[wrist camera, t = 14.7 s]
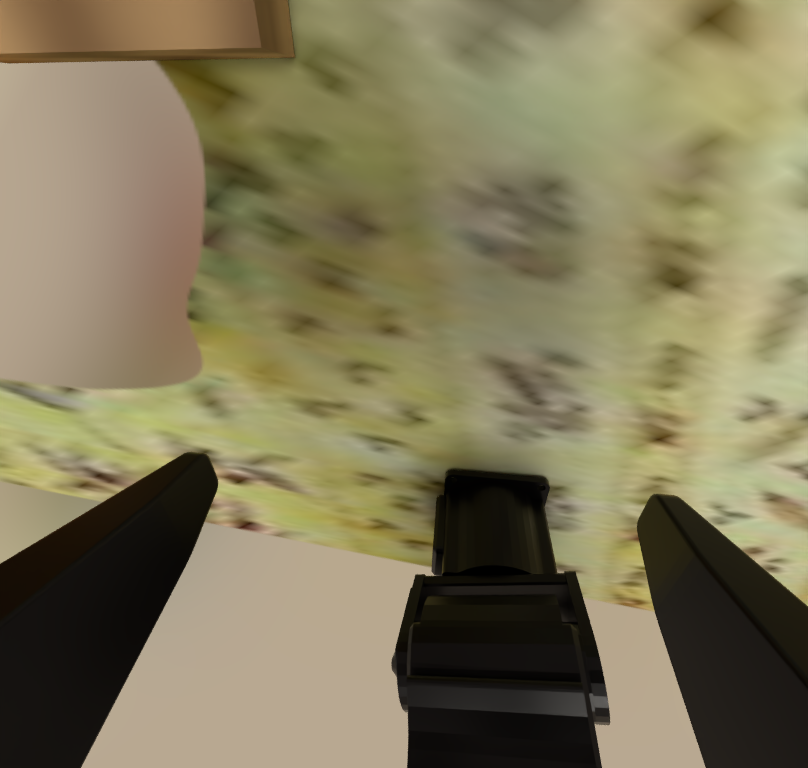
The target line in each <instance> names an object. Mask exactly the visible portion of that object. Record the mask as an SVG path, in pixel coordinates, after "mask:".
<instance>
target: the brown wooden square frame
mask: <svg viewBox="0 0 808 768" xmlns="http://www.w3.org/2000/svg"><path fill="white" fill-rule="evenodd" d="M291 57H295V55H294V47H293V38H292V30H291V22H290V14H289V6H288V0H0V62H2V63H45V62H46V63H47V62H91V61H92V62H95V61H141V60H142V61H145V60H194V59H242V58H291Z"/></svg>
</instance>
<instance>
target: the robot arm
mask: <svg viewBox="0 0 808 768" xmlns="http://www.w3.org/2000/svg"><path fill="white" fill-rule="evenodd" d="M451 477H454V478H451ZM540 485H543V486H540ZM217 488H218V479H217V476H216V473H215V471H214V468H213V465H212V463H211V460H210V458H209V456H208V455H207V454H205V453H196V452H187V453H184V454H182V455H181V456H179V457H177V458H176V459H174V460H172V461H171V462H169V463H167V464H166V465H164V466H162V467H161V468H159V469H157V470H156V471H154V472H152V473H151V474H149V475H147V476H146V477H144V478H142V479H141V480H139V481H137V482H136V483H134V484H132V485H131V486H129V487H127V488H126V489H124V490H122V491H121V492H119V493H117V494H116V495H114V496H112V497H111V498H109V499H107V500H106V501H104V502H102V503H101V504H99V505H97V506H96V507H94V508H92V509H91V510H89V511H88V512H86V513H84V514H82V515H81V516H79V517H78V518H76V519H74V520H72V521H71V522H69V523H67V524H66V525H64V526H62V527H61V528H59V529H57V530H56V531H54V532H52V533H51V534H49V535H47V536H46V537H44V538H43V539H41V540H39V541H38V542H36V543H34V544H32V545H31V546H29V547H27V548H26V549H24V550H22V551H21V552H19V553H17V554H16V555H14V556H13V557H11V558H9V559H7V560H6V561H4V562H2V563H1V564H0V768H81V767H82V764H83V763H84V761H85V759H86V757H87V755H88V753H89V751H90V749H91V747H92V745H93V744H94V742H95V740H96V737H97V736H98V734H99V732H100V730H101V728H102V726H103V724H104V722H105V720H106V719H107V717H108V715H109V712H110V711H111V709H112V707H113V705H114V703H115V701H116V699H117V697H118V695H119V693H120V692H121V689H122V688H123V686H124V684H125V682H126V680H127V678H128V676H129V674H130V672H131V670H132V668H133V666H134V665H135V662H136V661H137V659H138V657H139V655H140V653H141V651H142V649H143V647H144V645H145V643H146V641H147V639H148V637H149V636H150V634H151V632H152V630H153V628H154V626H155V624H156V622H157V620H158V618H159V616H160V614H161V613H162V611H163V609H164V606H165V605H166V603H167V601H168V599H169V597H170V595H171V593H172V591H173V589H174V587H175V586H176V584H177V582H178V580H179V578H180V576H181V574H182V572H183V570H184V568H185V566H186V564H187V562H188V560H189V558H190V556H191V554H192V551H193V549H194V547H195V544H196V542H197V539H198V537H199V534H200V532H201V529H202V527H203V524H204V522H205V519H206V517H207V514H208V512H209V509H210V507H211V504H212V502H213V499H214V497H215V494H216V492H217ZM549 489H550V486H549V482H548V480H547V479H545V478H538V477H527V476H516V475H505V474H494V473H482V472H471V471H460V470H450V471H448V472H447V473H446V476H445V489H444V495H439V496H438V497H437V501H436V515H435V528H434V541H433V556H432V572H433V574H434V575H437V576H426V575H425V574H422V575H415V579H414V583H413V587H412V588H411V589H410V593H409V597H408V601H407V605H406V609H405V613H404V617H403V621H402V624H401V628H400V632H399V637H398V640H397V644H396V649H395V653H394V656H393V658H392V671H393V672H394V673H395V675H396V676H397V685H398V693H399V699H400V703H401V706H402V709H403V710H404V711H405V712H408V734H409V735H408V763H407V764H408V765H407V768H602V766H601V760H600V754H599V748H598V743H597V736H596V731H595V725H594V724H599V725H609V724H610V713H609V705H608V698H607V692H606V687H605V681H604V676H603V671H602V666H601V661H600V657H599V653H598V649H597V645H596V641H595V638H594V634H593V630H592V627H591V624H590V620H589V617H588V613H587V610H586V607H585V604H584V600H583V596H582V593H581V589H580V586H579V583H578V579H577V576H576V572H575V571H564V573H557V569H556V564H555V559H554V554H553V549H552V543H551V538H550V533H549V528H548V523H547V518H546V513H545V508H544V506H545V503H546V500H547V496H548V493H549ZM637 532H638V537H639V542H640V546H641V551H642V556H643V560H644V565H645V570H646V574H647V579H648V584H649V588H650V593H651V598H652V602H653V606H654V610H655V614H656V617H657V620H658V624H659V627H660V630H661V633H662V636H663V639H664V642H665V645H666V648H667V651H668V654H669V657H670V660H671V663H672V666H673V669H674V672H675V675H676V678H677V682H678V685H679V688H680V691H681V693H682V697H683V699H684V703H685V705H686V709H687V712H688V715H689V718H690V721H691V724H692V727H693V730H694V733H695V736H696V739H697V742H698V745H699V748H700V751H701V754H702V757H703V760H704V763H705V767H706V768H808V606H807V605H806V604H804V603H803V602H802V601H801V600H800V599H799V598H797V597H796V596H795V595H794V594H793V593H792V592H790V591H789V590H788V589H787V588H786V587H784V586H783V585H782V584H781V583H780V582H779V581H777V580H776V579H775V578H774V577H773V576H772V575H770V574H769V573H768V572H767V571H766V570H764V569H763V568H762V567H761V566H760V565H759V564H757V563H756V562H755V561H754V560H753V559H752V558H750V557H749V556H748V555H747V554H746V553H744V552H743V551H742V550H741V549H740V548H739V547H737V546H736V545H735V544H734V543H733V542H731V541H730V540H729V539H728V538H727V537H726V536H724V535H723V534H722V533H721V532H720V531H719V530H717V529H716V528H715V527H714V526H713V525H711V524H710V523H709V522H708V521H707V520H706V519H704V518H703V517H702V516H701V515H700V514H699V513H697V512H696V511H695V510H694V509H693V508H691V507H690V506H689V505H688V504H687V503H686V502H684V501H683V500H682V499H681V498H679V497H677V496H674V495H665V494H653V495H652V496H650V498H649V500H648V502H647V504H646V506H645V508H644V509H643V511H642V513H641V515H640V517H639V519H638V523H637Z"/></svg>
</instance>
